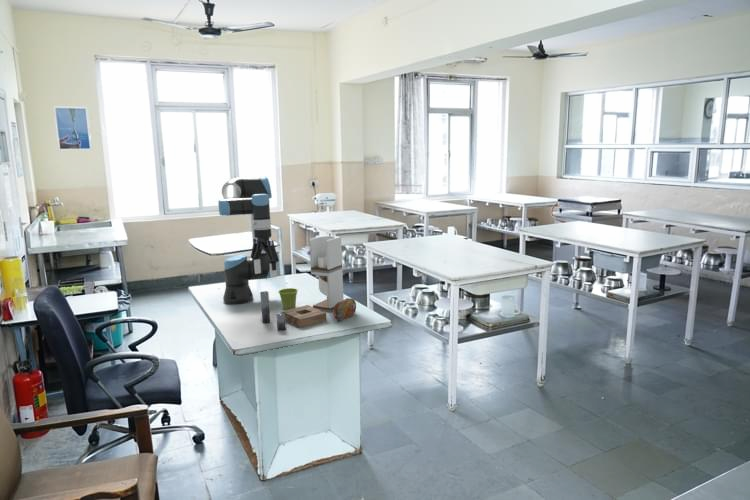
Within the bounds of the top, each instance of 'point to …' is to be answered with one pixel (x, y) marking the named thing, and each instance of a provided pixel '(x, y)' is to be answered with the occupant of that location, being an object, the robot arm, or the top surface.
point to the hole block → (304, 316)
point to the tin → (344, 309)
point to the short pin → (281, 322)
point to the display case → (327, 269)
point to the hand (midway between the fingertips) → (265, 275)
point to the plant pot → (288, 297)
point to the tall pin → (265, 307)
